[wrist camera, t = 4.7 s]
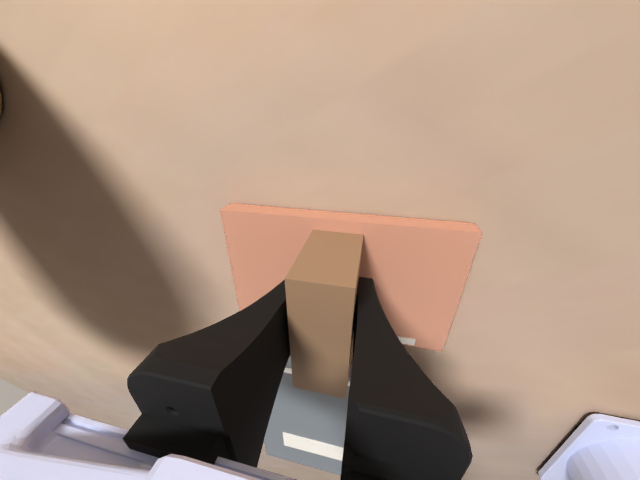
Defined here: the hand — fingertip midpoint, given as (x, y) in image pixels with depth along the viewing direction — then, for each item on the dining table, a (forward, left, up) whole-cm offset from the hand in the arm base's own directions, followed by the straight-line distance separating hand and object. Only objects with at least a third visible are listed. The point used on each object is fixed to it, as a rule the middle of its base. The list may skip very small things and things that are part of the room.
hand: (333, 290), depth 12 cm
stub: (0, 0, -2) cm, 2 cm away
